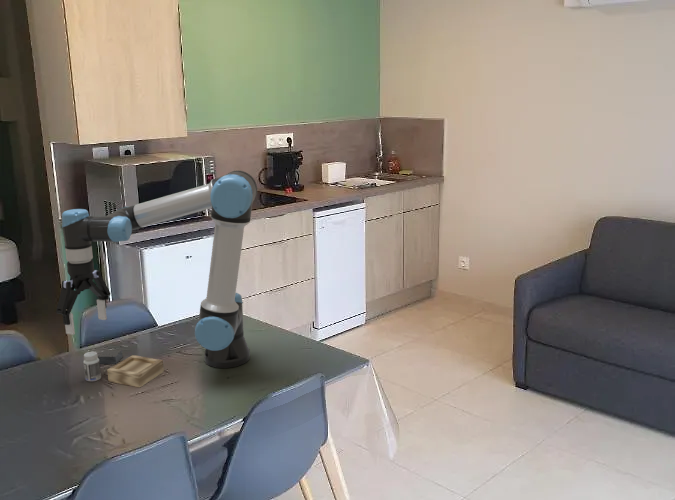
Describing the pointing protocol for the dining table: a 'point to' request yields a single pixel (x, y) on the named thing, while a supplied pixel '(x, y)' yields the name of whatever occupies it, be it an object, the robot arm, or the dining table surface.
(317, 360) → the dining table surface
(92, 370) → the pill bottle
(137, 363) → the stand
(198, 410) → the dining table surface
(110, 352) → the black tin
